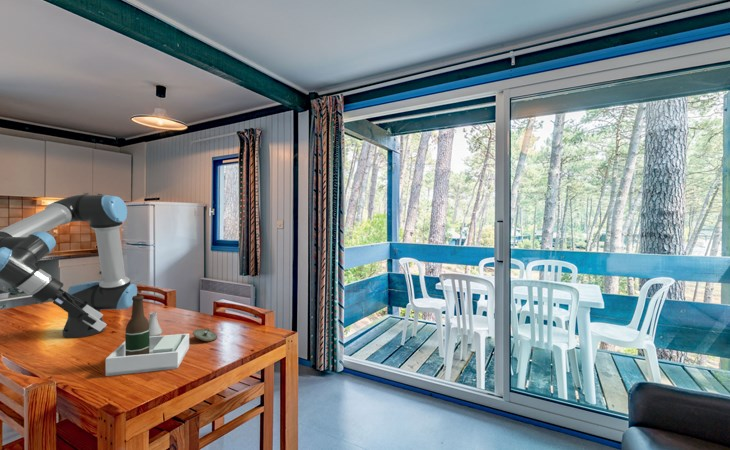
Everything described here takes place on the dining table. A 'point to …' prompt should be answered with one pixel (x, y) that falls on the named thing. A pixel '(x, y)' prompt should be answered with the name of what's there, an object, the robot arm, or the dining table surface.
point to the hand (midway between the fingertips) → (101, 322)
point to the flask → (154, 325)
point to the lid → (205, 334)
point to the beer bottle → (137, 330)
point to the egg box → (168, 344)
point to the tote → (146, 358)
